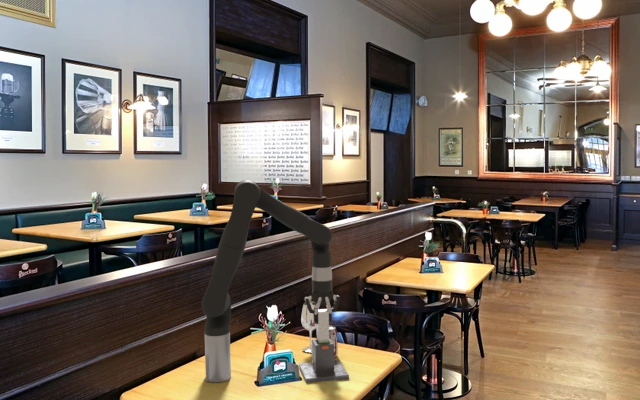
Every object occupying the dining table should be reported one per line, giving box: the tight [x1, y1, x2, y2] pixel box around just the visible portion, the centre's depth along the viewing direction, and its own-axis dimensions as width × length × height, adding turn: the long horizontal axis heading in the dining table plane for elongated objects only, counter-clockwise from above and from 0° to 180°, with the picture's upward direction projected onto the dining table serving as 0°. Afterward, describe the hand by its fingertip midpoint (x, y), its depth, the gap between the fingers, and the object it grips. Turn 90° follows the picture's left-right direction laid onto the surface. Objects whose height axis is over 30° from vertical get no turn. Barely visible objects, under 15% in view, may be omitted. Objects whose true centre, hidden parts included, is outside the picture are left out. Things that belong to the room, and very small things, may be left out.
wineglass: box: [300, 301, 317, 354], centre depth 241 cm, size 8×8×20 cm
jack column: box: [315, 308, 330, 344], centre depth 216 cm, size 4×4×16 cm
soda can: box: [329, 325, 338, 358], centre depth 234 cm, size 7×7×12 cm
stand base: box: [298, 338, 350, 384], centre depth 216 cm, size 16×16×12 cm
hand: (322, 322), depth 215 cm, fingers closed on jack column, 4 cm apart
